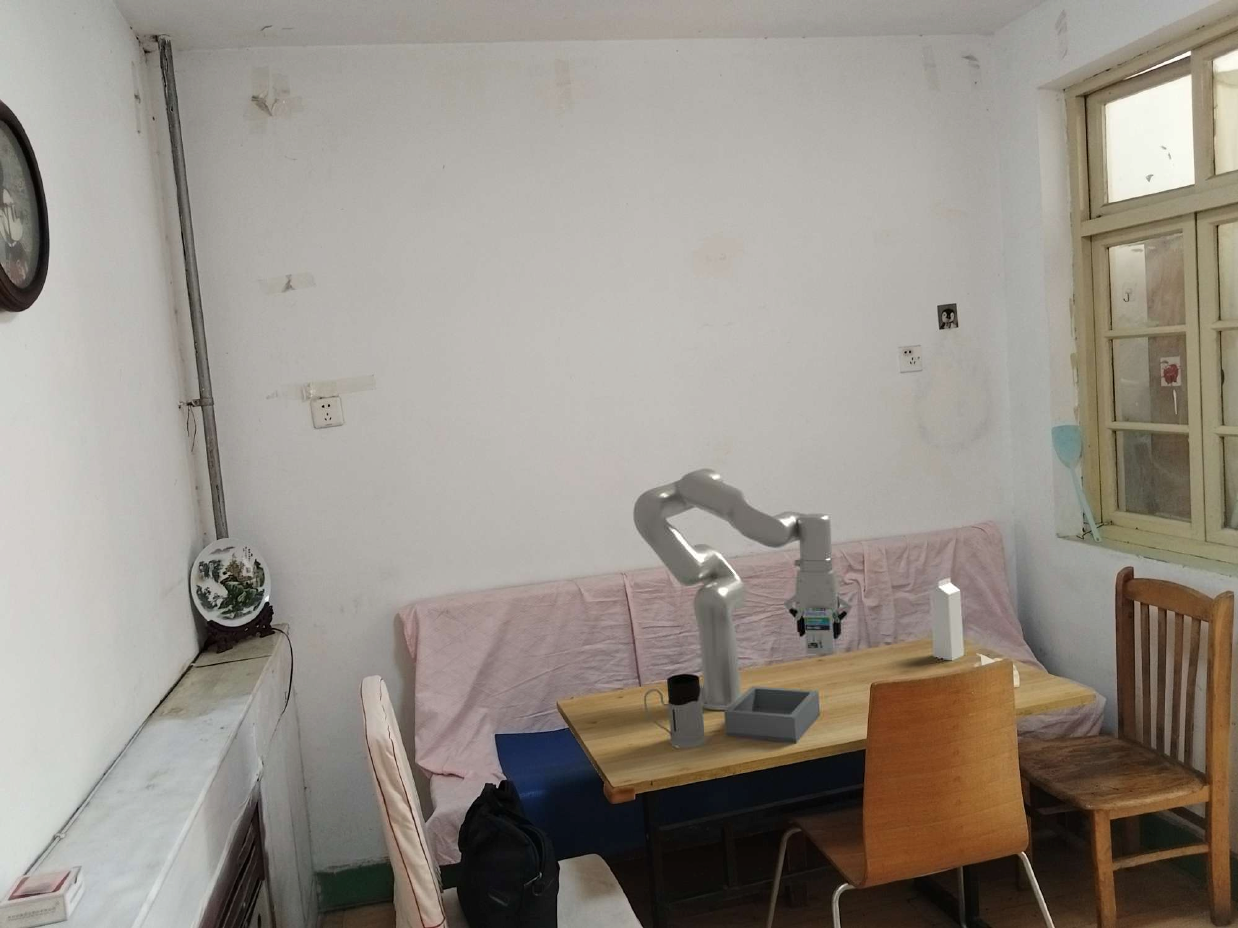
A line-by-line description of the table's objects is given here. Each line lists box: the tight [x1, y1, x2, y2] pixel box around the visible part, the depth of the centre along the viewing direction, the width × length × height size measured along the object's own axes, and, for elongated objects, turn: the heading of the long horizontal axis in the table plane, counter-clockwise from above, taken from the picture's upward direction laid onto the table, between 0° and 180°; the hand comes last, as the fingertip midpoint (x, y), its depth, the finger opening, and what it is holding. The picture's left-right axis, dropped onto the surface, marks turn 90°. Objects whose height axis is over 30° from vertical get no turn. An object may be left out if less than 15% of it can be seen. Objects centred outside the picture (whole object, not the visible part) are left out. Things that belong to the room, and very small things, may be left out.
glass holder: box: [643, 673, 708, 749], centre depth 230 cm, size 9×14×15 cm, turn 107°
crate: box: [723, 685, 821, 744], centre depth 236 cm, size 17×19×6 cm
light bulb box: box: [803, 607, 835, 655], centre depth 240 cm, size 11×7×11 cm, turn 169°
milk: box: [929, 577, 965, 661], centre depth 277 cm, size 6×6×22 cm
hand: (819, 635), depth 240 cm, fingers closed on light bulb box, 7 cm apart
